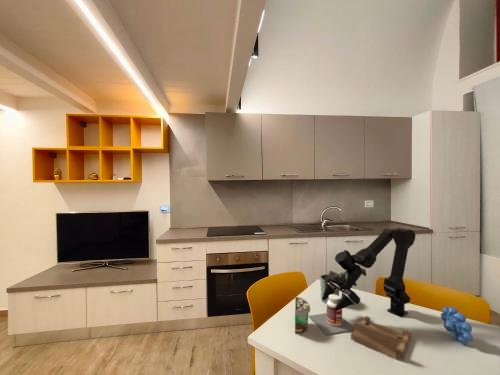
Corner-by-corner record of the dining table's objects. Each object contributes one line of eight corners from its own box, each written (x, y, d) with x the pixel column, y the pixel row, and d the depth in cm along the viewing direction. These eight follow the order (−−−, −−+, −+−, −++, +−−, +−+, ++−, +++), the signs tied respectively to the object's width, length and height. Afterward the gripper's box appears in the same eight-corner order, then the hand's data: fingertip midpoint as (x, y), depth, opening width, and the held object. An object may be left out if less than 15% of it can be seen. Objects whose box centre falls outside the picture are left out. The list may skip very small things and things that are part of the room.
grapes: (432, 331, 96) (432, 302, 96) (446, 330, 97) (446, 300, 97) (462, 351, 85) (462, 317, 85) (477, 349, 86) (477, 315, 86)
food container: (311, 337, 92) (311, 311, 92) (294, 335, 93) (295, 310, 93) (309, 320, 104) (309, 297, 104) (295, 318, 105) (295, 296, 105)
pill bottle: (338, 328, 97) (338, 301, 97) (324, 322, 101) (324, 296, 101) (344, 322, 102) (344, 296, 102) (330, 317, 106) (330, 292, 106)
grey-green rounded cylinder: (323, 294, 129) (323, 272, 129) (342, 300, 123) (343, 276, 123) (317, 301, 121) (317, 278, 121) (337, 307, 115) (337, 283, 115)
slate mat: (335, 312, 111) (335, 311, 111) (356, 329, 97) (356, 328, 97) (308, 316, 107) (308, 315, 107) (326, 335, 93) (326, 334, 93)
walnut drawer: (366, 320, 104) (366, 304, 104) (411, 336, 93) (411, 318, 93) (350, 339, 91) (350, 321, 91) (400, 361, 79) (400, 340, 79)
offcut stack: (369, 326, 100) (369, 320, 100) (403, 336, 94) (403, 330, 94) (366, 334, 95) (366, 328, 95) (402, 345, 88) (402, 338, 88)
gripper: (327, 258, 112) (306, 284, 109) (354, 271, 94) (330, 303, 91) (341, 273, 114) (321, 299, 111) (370, 289, 96) (347, 320, 93)
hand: (328, 304), depth 102 cm, fingers open, 9 cm apart
